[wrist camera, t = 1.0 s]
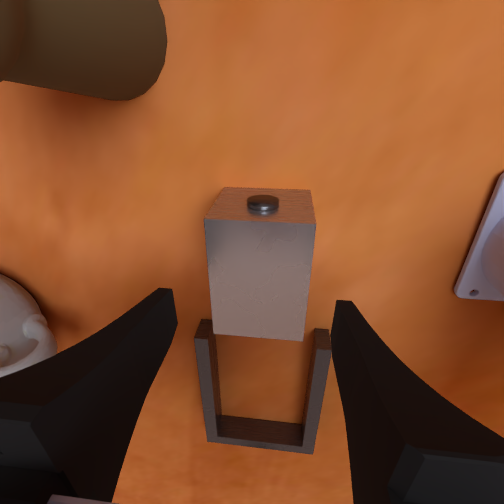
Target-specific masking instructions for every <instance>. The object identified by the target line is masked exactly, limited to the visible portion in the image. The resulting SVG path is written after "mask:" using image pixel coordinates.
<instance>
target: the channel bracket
mask: <svg viewBox="0 0 504 504" xmlns="http://www.w3.org/2000/svg"><path fill="white" fill-rule="evenodd" d="M194 342H195V350H196V358H197V365H198V373H199V381H200V389H201V396H202V404H203V412H204V420H205V427H206V435H207V442H215V443H223V444H232V445H240V446H248V447H256V448H264V449H272V450H280V451H289V452H297V453H305V454H313V451H314V445H315V440H316V434H317V429H318V424H319V418H320V413H321V407H322V402H323V396H324V391H325V385H326V380H327V374H328V369H329V363H330V358H331V352H332V349H331V342H330V335H329V330H328V329H316V328H315V331H314V339H313V346H312V353H311V361H310V368H309V375H308V383H307V390H306V397H305V404H304V412H303V419H302V424H293V423H285V422H276V421H267V420H258V419H249V418H240V417H232V416H223V415H222V411H221V399H220V386H219V374H218V362H217V349H216V337H215V334H214V333H213V321H212V320H205V319H201V322H200V324H199V327H198V329H197V332H196V334H195V337H194Z"/></svg>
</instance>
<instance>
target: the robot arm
mask: <svg viewBox="0 0 504 504" xmlns="http://www.w3.org/2000/svg"><path fill="white" fill-rule="evenodd" d="M472 290H474V291H473V292H470V291H472ZM454 292H455V294H456V295H457V296H458V297H459V298H465V299H479V300H494V301H504V173H503V174H501V176H500V177H499V179H498V182H497V184H496V187H495V189H494V192H493V194H492V196H491V199H490V201H489V204H488V206H487V209H486V211H485V214H484V216H483V219H482V221H481V224H480V226H479V229H478V231H477V234H476V236H475V238H474V241H473V243H472V246H471V248H470V251H469V253H468V256H467V258H466V261H465V263H464V266H463V268H462V271H461V273H460V275H459V278H458V280H457V283H456V285H455V288H454ZM177 324H178V322H177V316H176V310H175V304H174V298H173V291H172V289H168V288H158V289H157V290H155V291H154V292H153V293H151V294H150V295H149V296H147V297H146V298H145V299H143V300H142V301H141V302H140V303H138V304H137V305H136V306H134V307H133V308H132V309H130V310H129V311H128V312H126V313H125V314H123V315H122V316H121V317H119V318H118V319H116V320H115V321H113V322H112V323H110V324H109V325H107V326H106V327H105V328H103V329H101V330H100V331H98V332H97V333H95V334H93V335H92V336H90V337H88V338H86V339H85V340H83V341H81V342H79V343H78V344H76V345H74V346H72V347H70V348H68V349H66V350H64V351H62V352H60V353H58V354H56V355H54V356H52V357H50V358H47V359H45V360H43V361H41V362H38V363H36V364H34V365H31V366H29V367H26V368H24V369H22V370H19V371H16V372H14V373H11V374H8V375H5V376H3V377H0V504H117V503H111V502H112V499H113V495H114V492H115V488H116V485H117V481H118V478H119V474H120V471H121V468H122V465H123V462H124V459H125V455H126V452H127V449H128V446H129V443H130V440H131V437H132V434H133V431H134V428H135V425H136V422H137V420H138V417H139V414H140V411H141V409H142V406H143V403H144V401H145V398H146V396H147V393H148V391H149V389H150V387H151V385H152V383H153V381H154V378H155V376H156V374H157V372H158V370H159V368H160V366H161V364H162V362H163V360H164V358H165V356H166V354H167V352H168V349H169V347H170V345H171V343H172V340H173V337H174V334H175V331H176V327H177ZM330 337H331V349H332V358H333V363H334V368H335V373H336V378H337V382H338V387H339V391H340V396H341V401H342V405H343V410H344V416H345V423H346V432H347V440H348V450H349V459H350V469H351V480H352V491H353V502H354V504H504V438H503V437H501V436H500V435H498V434H497V433H495V432H493V431H492V430H490V429H489V428H487V427H486V426H484V425H482V424H481V423H479V422H478V421H476V420H475V419H473V418H472V417H470V416H469V415H467V414H466V413H464V412H463V411H462V410H460V409H459V408H457V407H456V406H455V405H453V404H452V403H450V402H449V401H448V400H446V399H445V398H444V397H442V396H441V395H440V394H439V393H437V392H436V391H435V390H434V389H432V388H431V387H430V386H429V385H428V384H426V383H425V382H424V381H423V380H422V379H420V378H419V377H418V376H417V375H416V374H415V373H414V372H413V371H411V370H410V369H409V368H408V367H407V366H406V365H405V364H404V363H403V362H402V361H401V360H400V359H399V358H398V357H397V356H396V355H395V354H394V353H393V352H392V351H391V350H390V349H389V347H388V346H387V345H386V344H385V343H384V342H383V341H382V339H381V338H380V337H379V336H378V335H377V333H376V332H375V331H374V330H373V329H372V327H371V326H370V325H369V324H368V322H367V321H366V320H365V318H364V317H363V316H362V314H361V313H360V312H359V310H358V309H357V307H356V306H355V305H354V303H353V302H352V301H345V300H337V301H336V306H335V312H334V318H333V324H332V330H331V335H330Z"/></svg>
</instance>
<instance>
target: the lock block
mask: <svg viewBox="0 0 504 504" xmlns="http://www.w3.org/2000/svg"><path fill="white" fill-rule="evenodd" d="M204 228H205V239H206V251H207V263H208V274H209V286H210V298H211V309H212V321H213V333H214V334H222V335H234V336H246V337H257V338H269V339H281V340H292V341H303V337H304V329H305V320H306V311H307V302H308V293H309V284H310V276H311V267H312V258H313V249H314V240H315V231H316V219H315V213H314V208H313V202H312V196H311V190H301V189H271V188H242V187H224V189H223V190H222V192H221V193H220V195H219V197H218V198H217V200H216V201H215V203H214V204H213V206H212V207H211V209H210V210H209V212H208V213H207V215H206V216H205V218H204Z"/></svg>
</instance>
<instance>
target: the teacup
mask: <svg viewBox="0 0 504 504" xmlns="http://www.w3.org/2000/svg"><path fill="white" fill-rule="evenodd" d="M56 354H57V342H56V340H55V337H54V335H53V333H52V332H51V331H50V329H49V328H48V327H47V321H46V319H45V317H44V316H43V315H42V314H41V311H40V308H39V306H38V304H37V303H36V301H35V300H34V298H33V297H32V296H31V294H29V293H28V292H27V291H26V290H25V289H24V288H23V287H22V286H21V285H19V284H18V283H16V282H15V281H13V280H11V279H10V278H8V277H6V276H4V275H1V274H0V377H3V376H5V375H8V374H11V373H14V372H16V371H19V370H22V369H24V368H26V367H29V366H31V365H34V364H36V363H38V362H41V361H43V360H45V359H47V358H50V357H52V356H54V355H56Z"/></svg>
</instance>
